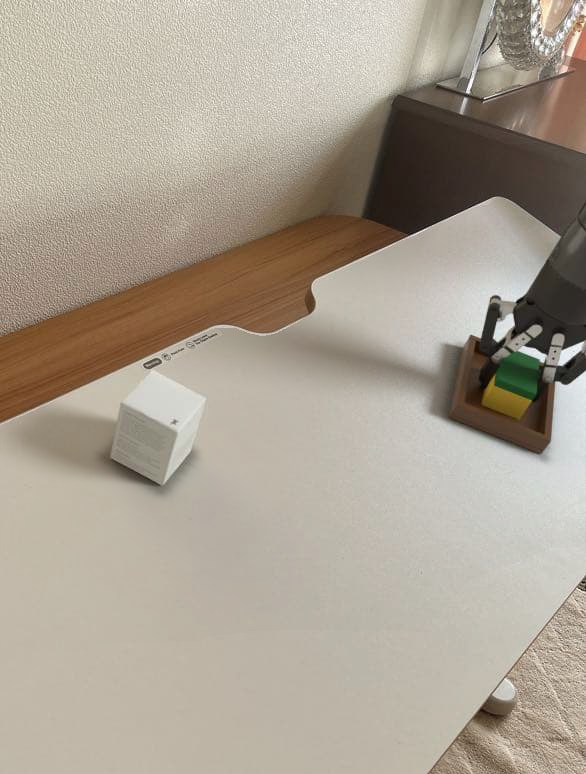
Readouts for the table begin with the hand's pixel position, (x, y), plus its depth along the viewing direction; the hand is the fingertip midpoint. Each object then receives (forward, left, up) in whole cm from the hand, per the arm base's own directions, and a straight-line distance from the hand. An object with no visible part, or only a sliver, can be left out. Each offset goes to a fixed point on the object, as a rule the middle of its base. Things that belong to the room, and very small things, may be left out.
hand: (504, 391), depth 104 cm
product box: (+41, +19, -1) cm, 45 cm away
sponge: (0, 0, -1) cm, 1 cm away
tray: (0, 0, -1) cm, 1 cm away
